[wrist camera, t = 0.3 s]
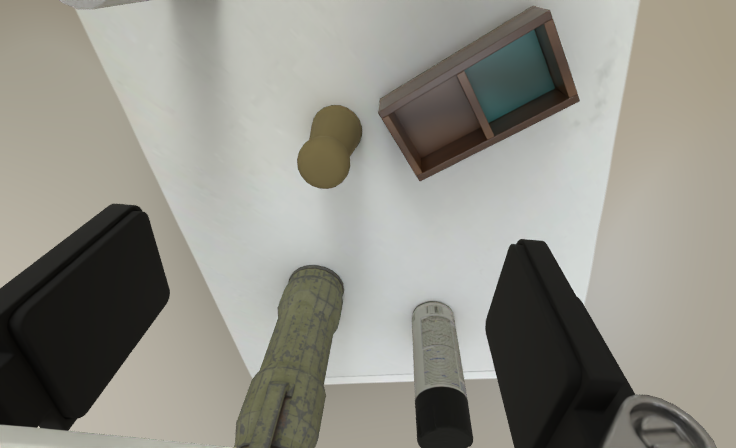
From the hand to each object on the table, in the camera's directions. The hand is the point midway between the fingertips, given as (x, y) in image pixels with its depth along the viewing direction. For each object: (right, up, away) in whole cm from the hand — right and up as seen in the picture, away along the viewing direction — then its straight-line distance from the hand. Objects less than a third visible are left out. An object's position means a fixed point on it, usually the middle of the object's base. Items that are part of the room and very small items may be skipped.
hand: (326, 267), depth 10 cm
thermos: (-7, -8, +50) cm, 51 cm away
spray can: (+11, -13, +51) cm, 54 cm away
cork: (-3, +12, +35) cm, 38 cm away
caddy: (+12, +15, +32) cm, 38 cm away
